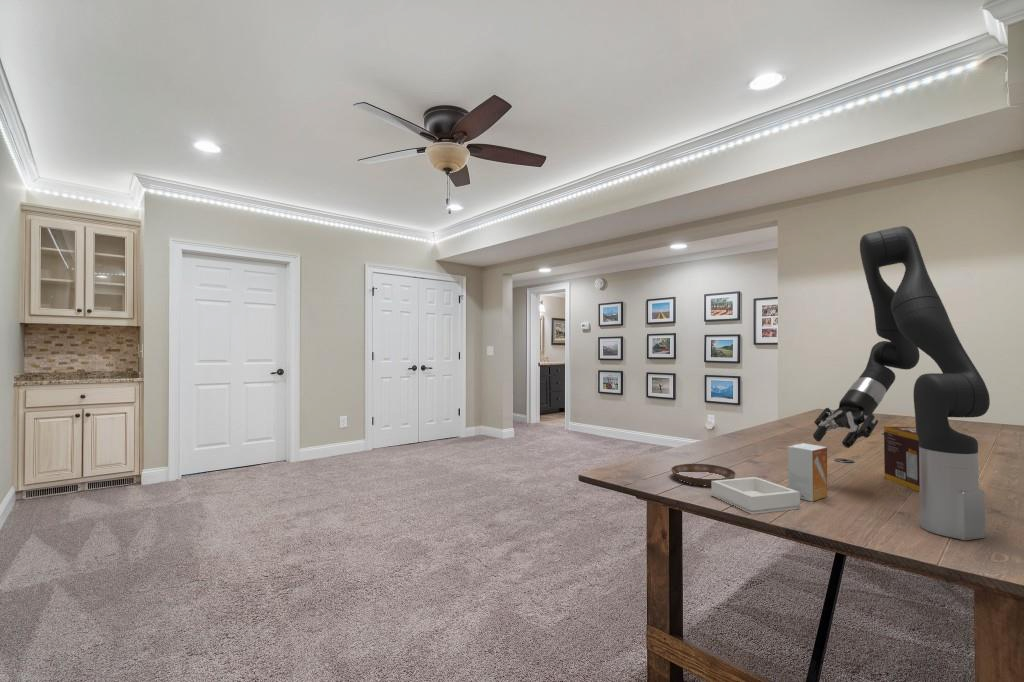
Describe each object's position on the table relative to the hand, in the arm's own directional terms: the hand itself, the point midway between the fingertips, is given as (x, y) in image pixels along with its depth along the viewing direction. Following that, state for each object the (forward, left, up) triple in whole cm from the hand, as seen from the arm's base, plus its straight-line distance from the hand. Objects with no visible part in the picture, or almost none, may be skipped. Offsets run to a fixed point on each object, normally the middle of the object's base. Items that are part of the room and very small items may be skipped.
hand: (830, 442), depth 126 cm
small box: (0, +8, -14) cm, 16 cm away
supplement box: (-1, -31, -14) cm, 34 cm away
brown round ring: (+21, +24, -14) cm, 35 cm away
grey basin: (0, +25, -14) cm, 28 cm away
